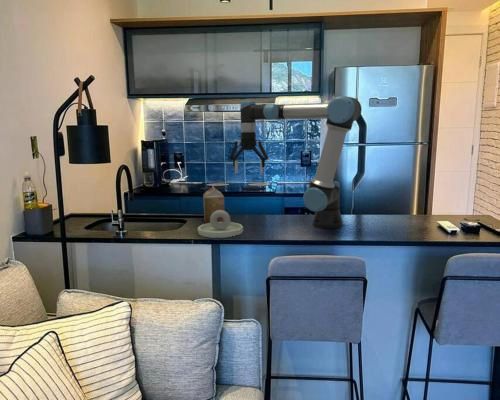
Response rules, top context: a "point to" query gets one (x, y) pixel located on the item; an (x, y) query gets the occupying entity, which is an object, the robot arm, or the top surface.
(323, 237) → the top surface
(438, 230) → the top surface
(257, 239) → the top surface
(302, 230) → the top surface
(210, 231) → the plate
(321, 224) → the robot arm
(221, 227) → the donut
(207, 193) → the milk carton
